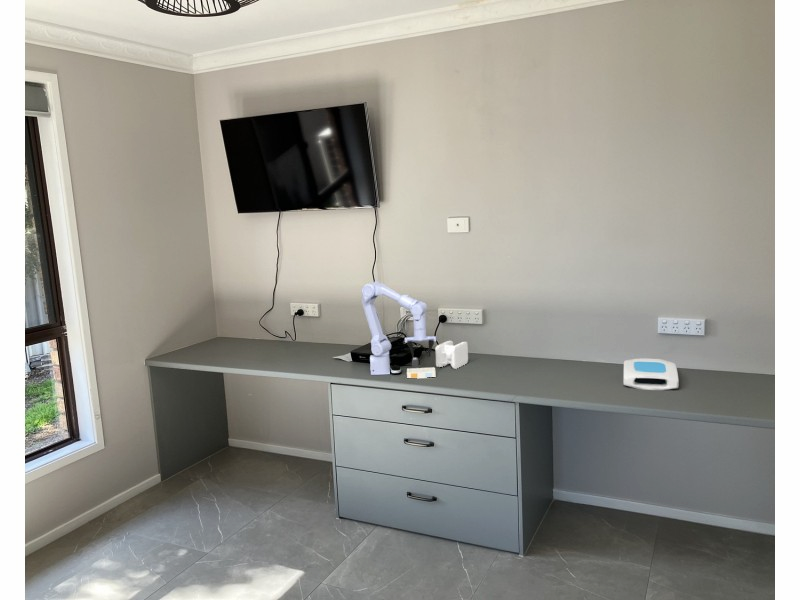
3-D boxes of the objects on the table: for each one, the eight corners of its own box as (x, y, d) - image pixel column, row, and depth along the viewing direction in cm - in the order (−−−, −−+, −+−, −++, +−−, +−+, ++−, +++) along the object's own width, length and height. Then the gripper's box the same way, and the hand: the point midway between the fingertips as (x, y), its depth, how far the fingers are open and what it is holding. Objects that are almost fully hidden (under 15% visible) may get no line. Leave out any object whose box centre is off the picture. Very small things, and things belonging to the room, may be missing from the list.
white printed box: (407, 379, 292) (406, 372, 291) (407, 374, 299) (407, 368, 298) (435, 377, 291) (435, 371, 291) (435, 373, 298) (434, 367, 298)
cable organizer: (454, 371, 300) (453, 347, 298) (435, 369, 306) (434, 345, 304) (468, 363, 313) (468, 340, 311) (450, 361, 318) (449, 339, 317)
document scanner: (673, 372, 281) (674, 359, 280) (678, 391, 255) (678, 376, 254) (623, 370, 288) (624, 357, 287) (623, 388, 262) (623, 374, 261)
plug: (412, 372, 303) (411, 358, 301) (412, 370, 305) (411, 357, 304) (418, 371, 302) (418, 358, 301) (418, 370, 305) (418, 357, 304)
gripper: (404, 330, 288) (405, 359, 290) (435, 329, 287) (437, 358, 289) (404, 327, 294) (405, 355, 297) (435, 326, 294) (436, 354, 296)
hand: (421, 356), depth 293 cm, fingers open, 7 cm apart
